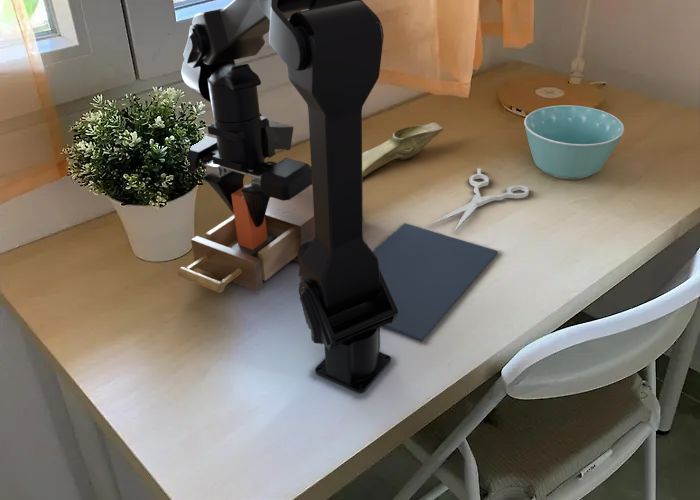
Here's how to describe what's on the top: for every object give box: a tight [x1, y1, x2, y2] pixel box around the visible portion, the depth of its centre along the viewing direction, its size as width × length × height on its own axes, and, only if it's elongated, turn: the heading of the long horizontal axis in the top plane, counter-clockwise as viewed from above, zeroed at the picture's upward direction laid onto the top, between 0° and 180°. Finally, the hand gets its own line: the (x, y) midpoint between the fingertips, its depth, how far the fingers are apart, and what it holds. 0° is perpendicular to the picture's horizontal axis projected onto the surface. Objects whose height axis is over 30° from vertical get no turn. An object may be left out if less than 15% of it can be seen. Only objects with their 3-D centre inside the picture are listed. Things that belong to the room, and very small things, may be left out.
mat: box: [372, 222, 499, 342], centre depth 94 cm, size 22×15×1 cm
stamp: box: [231, 184, 277, 258], centre depth 95 cm, size 6×4×10 cm, turn 147°
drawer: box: [177, 214, 299, 294], centre depth 96 cm, size 18×11×5 cm, turn 147°
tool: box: [362, 121, 444, 179], centre depth 122 cm, size 22×6×5 cm, turn 119°
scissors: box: [430, 167, 530, 232], centre depth 110 cm, size 11×1×20 cm
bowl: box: [523, 104, 625, 181], centre depth 117 cm, size 16×16×8 cm
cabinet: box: [265, 185, 315, 263], centre depth 104 cm, size 14×12×6 cm
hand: (250, 222), depth 95 cm, fingers closed on stamp, 3 cm apart
